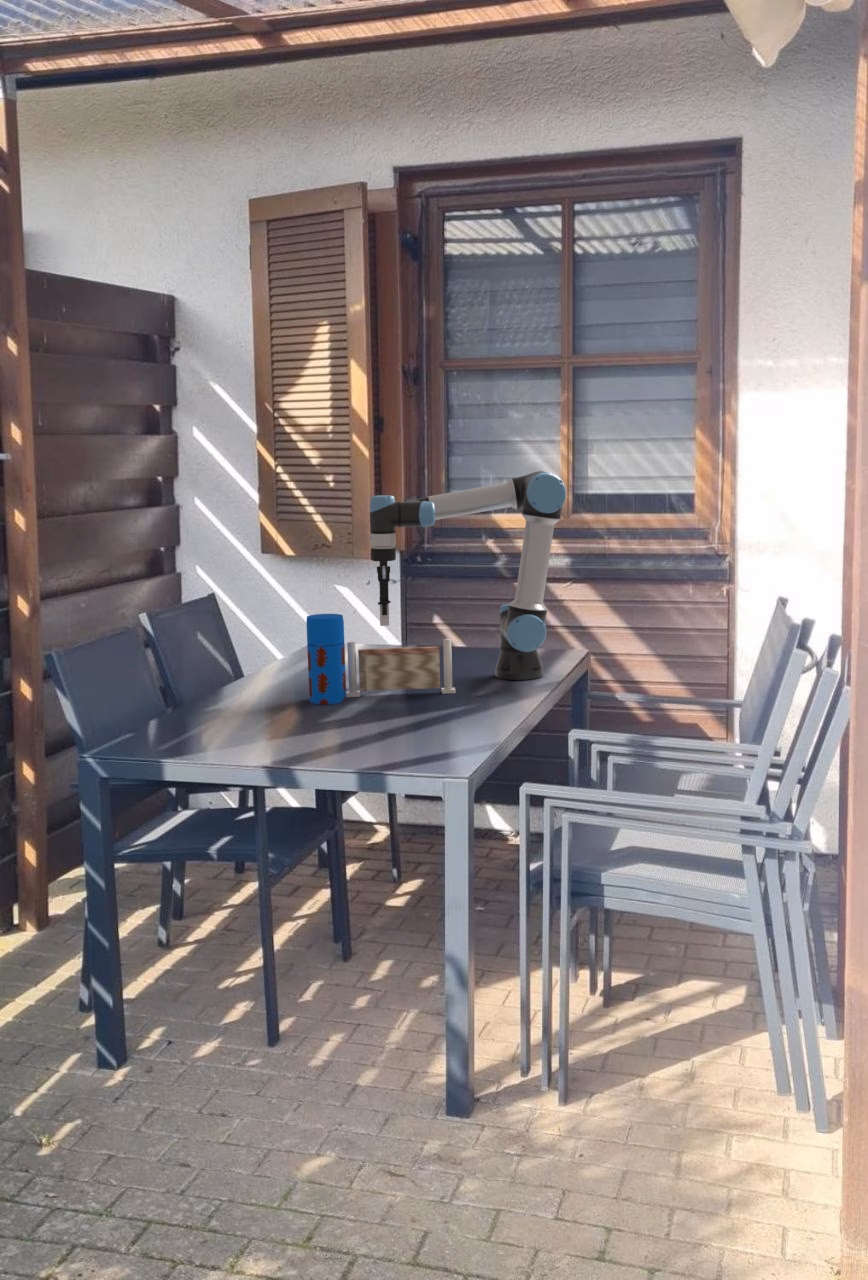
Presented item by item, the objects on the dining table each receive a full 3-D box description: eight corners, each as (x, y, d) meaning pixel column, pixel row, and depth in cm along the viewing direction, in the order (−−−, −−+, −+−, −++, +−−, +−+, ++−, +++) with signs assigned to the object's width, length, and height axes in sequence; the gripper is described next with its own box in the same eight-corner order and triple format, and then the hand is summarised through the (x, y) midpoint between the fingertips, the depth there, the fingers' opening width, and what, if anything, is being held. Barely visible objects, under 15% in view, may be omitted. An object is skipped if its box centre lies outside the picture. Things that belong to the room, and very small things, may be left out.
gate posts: (454, 690, 415) (453, 638, 412) (455, 693, 411) (454, 640, 408) (346, 694, 413) (344, 641, 411) (346, 697, 409) (344, 643, 407)
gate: (439, 686, 413) (438, 646, 412) (440, 688, 411) (439, 647, 410) (359, 689, 412) (358, 649, 410) (359, 691, 410) (358, 650, 408)
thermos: (340, 704, 399) (337, 619, 395) (305, 704, 401) (301, 618, 397) (350, 697, 409) (347, 613, 405) (315, 696, 411) (312, 613, 407)
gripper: (370, 545, 419) (371, 622, 423) (370, 549, 406) (372, 628, 410) (394, 545, 420) (396, 622, 423) (396, 549, 407) (397, 628, 410)
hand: (384, 625), depth 417 cm, fingers closed
